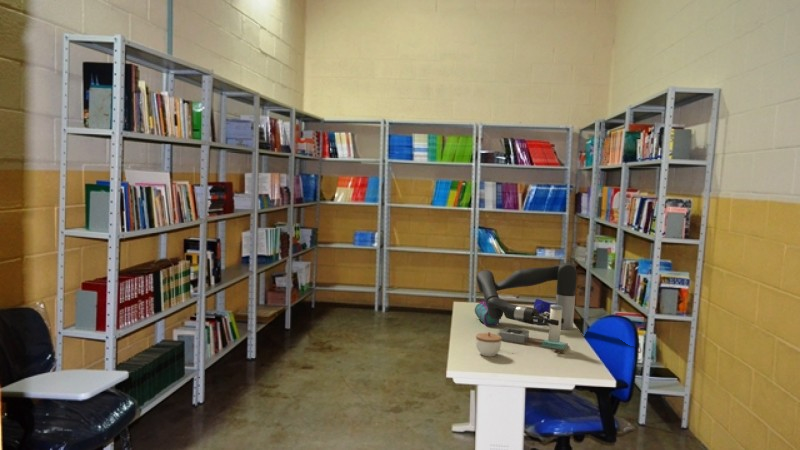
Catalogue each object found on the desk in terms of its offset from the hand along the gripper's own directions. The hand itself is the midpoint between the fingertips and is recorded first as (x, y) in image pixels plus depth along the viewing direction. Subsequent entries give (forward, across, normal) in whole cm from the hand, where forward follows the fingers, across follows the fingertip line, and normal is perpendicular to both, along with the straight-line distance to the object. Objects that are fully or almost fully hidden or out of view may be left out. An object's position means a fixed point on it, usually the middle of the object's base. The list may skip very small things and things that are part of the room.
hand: (560, 322), depth 253 cm
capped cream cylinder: (-3, 0, -9) cm, 9 cm away
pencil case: (-47, -16, -13) cm, 51 cm away
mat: (-2, 0, -11) cm, 11 cm away
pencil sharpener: (-26, -40, -13) cm, 50 cm away
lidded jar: (-18, +31, -13) cm, 38 cm away
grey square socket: (-20, +5, -11) cm, 23 cm away
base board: (-12, +2, -12) cm, 17 cm away
